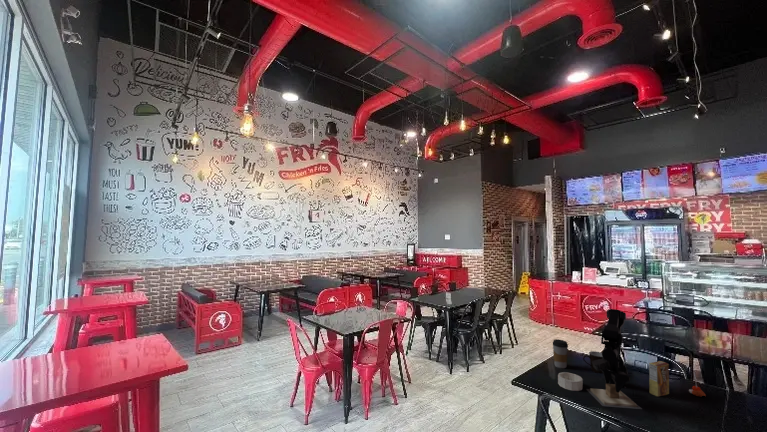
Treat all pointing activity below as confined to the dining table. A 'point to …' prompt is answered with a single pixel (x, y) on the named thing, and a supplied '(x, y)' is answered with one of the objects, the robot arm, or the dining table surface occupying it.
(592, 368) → the coffee mug
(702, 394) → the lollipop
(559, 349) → the coffee cup
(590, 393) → the mat
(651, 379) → the candy box
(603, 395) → the cover tile
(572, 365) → the dining table surface
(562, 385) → the bowl
